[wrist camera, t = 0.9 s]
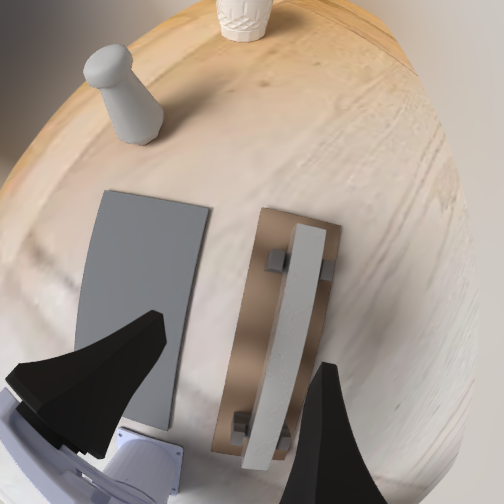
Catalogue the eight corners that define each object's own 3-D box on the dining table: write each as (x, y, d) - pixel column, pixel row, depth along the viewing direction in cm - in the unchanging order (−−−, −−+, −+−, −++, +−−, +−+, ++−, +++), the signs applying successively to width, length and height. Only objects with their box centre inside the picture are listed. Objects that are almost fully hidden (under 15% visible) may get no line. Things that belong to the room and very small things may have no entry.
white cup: (224, 17, 30) (223, -30, 20) (273, 23, 30) (280, -24, 21) (210, 42, 29) (205, -11, 19) (264, 48, 30) (271, -6, 20)
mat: (168, 428, 24) (167, 431, 23) (75, 393, 23) (73, 395, 23) (209, 209, 26) (208, 208, 26) (106, 191, 26) (104, 190, 26)
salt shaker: (172, 110, 28) (146, 29, 15) (162, 151, 27) (122, 74, 14) (129, 113, 27) (88, 42, 14) (116, 152, 27) (61, 87, 14)
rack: (282, 454, 24) (290, 480, 19) (212, 445, 24) (208, 472, 19) (336, 228, 27) (356, 216, 22) (260, 210, 27) (265, 194, 22)
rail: (265, 457, 21) (267, 470, 18) (240, 454, 20) (241, 468, 18) (317, 235, 23) (326, 229, 21) (291, 229, 23) (297, 223, 21)
